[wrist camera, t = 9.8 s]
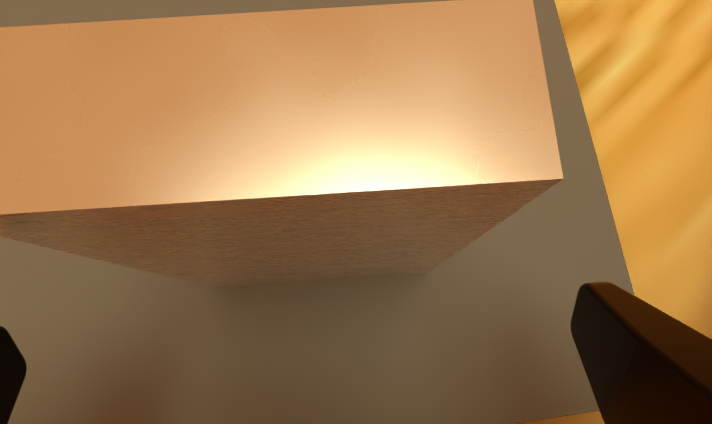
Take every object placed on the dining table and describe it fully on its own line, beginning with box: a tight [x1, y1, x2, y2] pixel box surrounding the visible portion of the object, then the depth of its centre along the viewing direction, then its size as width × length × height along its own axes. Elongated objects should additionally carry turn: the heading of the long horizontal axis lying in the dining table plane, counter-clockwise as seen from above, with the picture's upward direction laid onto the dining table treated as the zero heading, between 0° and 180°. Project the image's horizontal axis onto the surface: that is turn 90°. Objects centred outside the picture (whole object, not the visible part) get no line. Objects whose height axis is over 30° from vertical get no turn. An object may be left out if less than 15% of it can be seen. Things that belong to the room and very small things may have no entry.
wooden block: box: [0, 0, 563, 288], centre depth 9 cm, size 2×6×9 cm, turn 94°
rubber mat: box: [0, 0, 634, 424], centre depth 15 cm, size 18×18×1 cm
